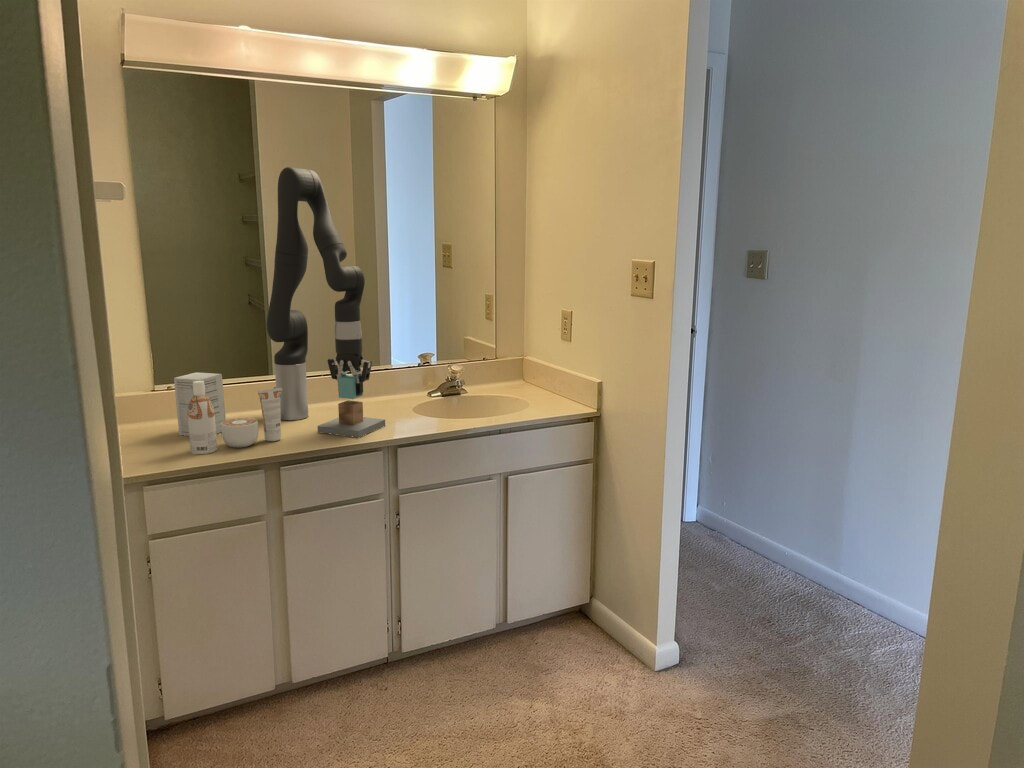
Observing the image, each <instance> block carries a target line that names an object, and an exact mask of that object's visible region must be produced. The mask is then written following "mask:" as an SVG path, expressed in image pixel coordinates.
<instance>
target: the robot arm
mask: <svg viewBox="0 0 1024 768" xmlns="http://www.w3.org/2000/svg"><path fill="white" fill-rule="evenodd" d="M277 179H278V180H277V229H276V244H275V251H274V253H275V254H274V265H273V266H274V267H273V278H272V288H271V295H270V296H271V297H270V300H269V301H270V302H269V305H268V311H267V312H268V313H267V317H266V332H267V335H268V337H269V338H270V340H271V341H273V342H275V343H283V345H282V346H281V348H280V349H279V350H278V351H277V352H276V353H275V354H274V357H273V358H274V359H273V361H274V362H273V363H274V375H275V378H274V379H275V386H274V387H273V388H272V389H275V388H282V393H281V420H282V421H296V420H302V419H306V418H308V417H309V401H308V381H307V363H306V362H307V361H306V358H307V354H308V351H309V350H308V348H309V344H308V343H309V342H308V341H309V336H308V335H309V331H308V330H309V329H308V321H307V318H306V316H305V315H304V313H302V311H300V310H298V309H292V308H291V307H292V300H293V297H294V295H295V293H296V291H297V289H298V287H299V286H300V284H301V282H302V281H303V279H304V277H305V274H306V271H307V268H308V257H309V256H308V255H309V246H308V243H307V240H306V238H305V235H304V233H303V231H302V228H301V225H300V222H299V217H298V216H299V215H298V206H299V202H305V203H307V204H308V207H309V208H310V210H311V212H312V215H313V226H312V236H313V241H314V243H315V247H316V248H317V250H318V252H319V255H320V256H321V259H322V261H323V262H322V263H323V268H324V269H323V270H324V275H325V280H326V283H327V285H328V287H329V288H331V290H332V291H334V292H336V293H337V292H338V293H341V292H344V297H343V298H341V299H338V300H337V301H335V303H334V343H335V345H334V347H335V353H336V357H331V358H328V359H327V365H328V369H329V372H330V373H329V374H330V377H331V379H332V380H336V381H337V382H338V377H342V376H344V375H347V374H349V373H351V375H353V376H354V378H355V381H356V396H360V395H362V393H363V394H364V382H366V381H369V380H370V375H371V370H372V366H373V365H372V364H373V362H372V360H366V359H364V358H363V356H362V355H363V354H362V353H363V336H362V335H363V334H362V333H363V332H362V325H361V308H360V307H361V301H362V298H363V293H364V289H365V280H366V279H365V274H364V273H363V271H362V269H361V268H360V267H359V266H357V265H345V266H344V265H343V266H342V265H341V263H342V262H343V261H344V260H345V259H346V258H347V255H348V253H347V249H346V247H345V245H344V243H343V240H342V238H341V236H340V235H339V232H338V231H337V228H336V226H335V223H334V220H333V217H332V215H331V214H332V213H331V211H330V207H329V204H328V203H329V202H328V199H327V196H326V193H325V190H324V186H323V183H322V181H321V178H320V176H319V175H318V174H317V172H316V171H314V170H312V169H308V168H301V167H292V166H291V167H290V166H287V167H285V168H283V169H281V171H280V172H279V175H278V178H277ZM348 372H349V373H348Z"/></svg>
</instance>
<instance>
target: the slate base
mask: <svg viewBox="0 0 1024 768" xmlns="http://www.w3.org/2000/svg"><path fill="white" fill-rule="evenodd" d="M383 426H384V427H386V419H383V418H373V417H367V416H365V417H364V416H363V422H361V423H358V424H356V425H345V424H339V417H337V418H334V419H332V420H329V421H327V422H324V423H322V424H319V425H317V427H316V428H317V433H318V432H323V433H322V434H325V433H331V434H330V435H333V434H338V435H337V436H341V435H345V436H344V437H349V436H353V437H352V438H357V437H360V438H361V436H362V437H364V436H366V435H368V434H367V433H369V432H371V433H372V431H373V432H375V431H377V430H380V429H382V428H384V427H383ZM381 427H382V428H381ZM379 428H380V429H379ZM376 429H377V430H376ZM374 430H375V431H374ZM365 434H366V435H365ZM369 434H370V433H369ZM363 435H364V436H363Z"/></svg>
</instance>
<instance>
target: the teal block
mask: <svg viewBox="0 0 1024 768" xmlns="http://www.w3.org/2000/svg"><path fill="white" fill-rule="evenodd" d="M337 392H338V398H340V399H349V400H355V399H358V398H361V397H363V396H364V392H363V393H362V395H360V396H356V381H355V378H354V376H353V375H352V374H349V373H347V374H346V375H344V376H342V377H338V381H337Z"/></svg>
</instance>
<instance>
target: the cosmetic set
mask: <svg viewBox="0 0 1024 768" xmlns="http://www.w3.org/2000/svg"><path fill="white" fill-rule="evenodd" d="M193 391H194V395H193V397H192V399H191V400H190V402H189V404H188V409H187V415H188V426H189V436H188V438H189V446H190V447H189V449H190V452H191V453H192V454H193V455H207V454H208V455H209V454H212V453H215V452H216V451H217V450H218V441H217V440H218V439H217V434H216V425H215V413H214V406H213V404H212V402H211V400H210V399H209V398H208V397H207V395H206V394H205V385H204V381H194V382H193ZM281 393H282V388H275V389H273V388H268V389H259V390H257V395H258V397H259V402H260V406H261V407H260V408H261V415H262V422H263V435H264V440H265V441H267V442H277V441H279V440H281V439H282V426H281V425H282V423H281ZM221 429H222V432H221V437H222V440H223V442H224V443H225V444H226V445H227V446H228V447H232V448H236V447H237V448H239V447H240V448H246V447H249V446H251V445H253V444H254V443H256V441H257V440H258V438H259V423H258V419H256V418H253V417H238V418H236V417H235V418H230V419H226V421H223V422H222V423H221Z"/></svg>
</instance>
